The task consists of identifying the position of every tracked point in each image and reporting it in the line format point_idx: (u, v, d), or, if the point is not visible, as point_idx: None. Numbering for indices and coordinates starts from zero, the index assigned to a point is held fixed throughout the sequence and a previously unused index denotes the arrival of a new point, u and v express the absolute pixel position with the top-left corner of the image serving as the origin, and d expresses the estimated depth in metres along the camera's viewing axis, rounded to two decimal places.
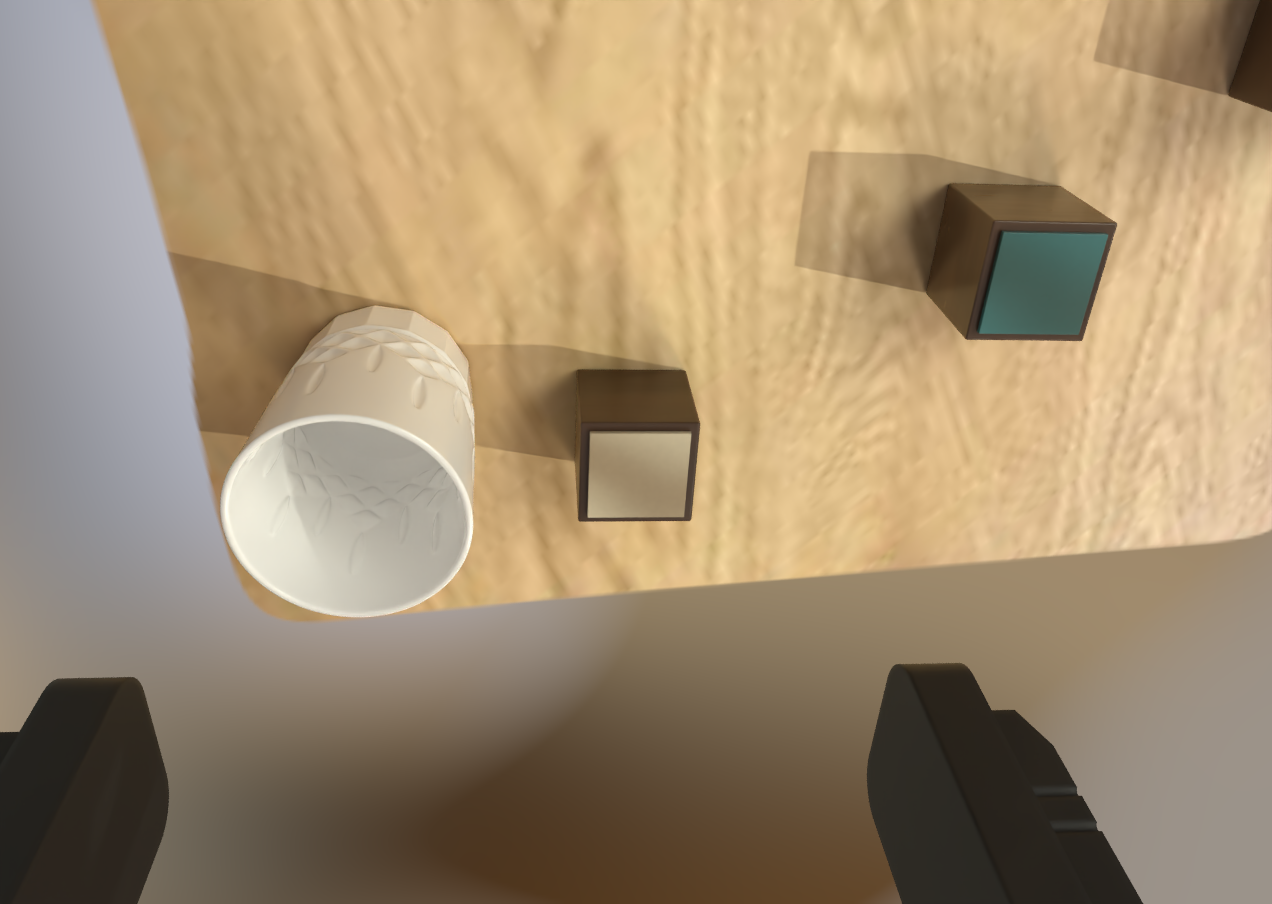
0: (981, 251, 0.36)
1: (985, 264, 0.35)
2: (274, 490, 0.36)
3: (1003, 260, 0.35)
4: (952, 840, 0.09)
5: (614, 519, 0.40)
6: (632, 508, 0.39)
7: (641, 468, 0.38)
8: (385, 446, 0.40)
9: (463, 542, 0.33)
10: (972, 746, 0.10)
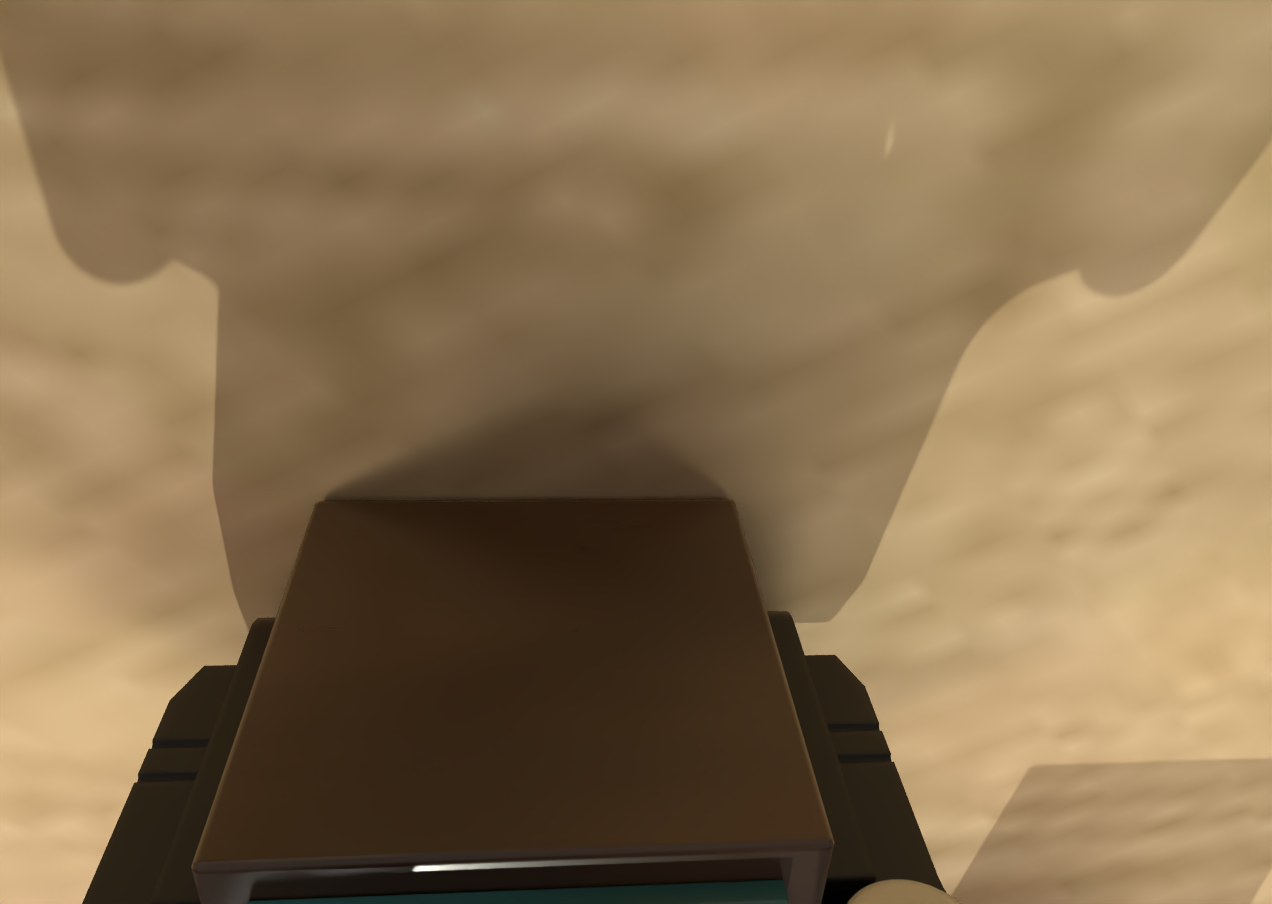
0: (660, 808, 0.07)
1: (617, 860, 0.07)
2: None
3: None
4: None
5: None
6: None
7: None
8: None
9: None
10: None
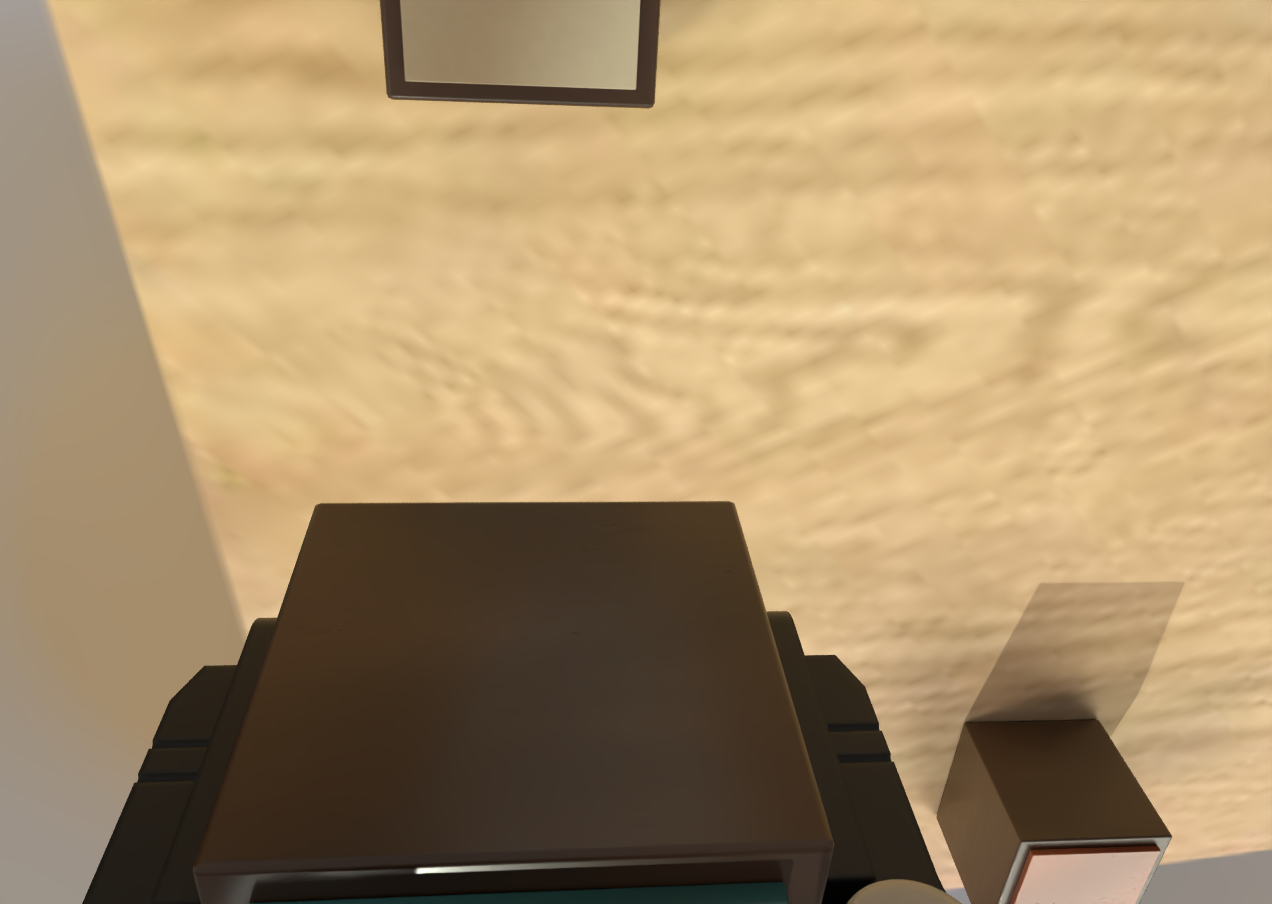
0: (660, 811, 0.07)
1: (618, 863, 0.07)
2: None
3: None
4: None
5: None
6: None
7: None
8: None
9: None
10: None
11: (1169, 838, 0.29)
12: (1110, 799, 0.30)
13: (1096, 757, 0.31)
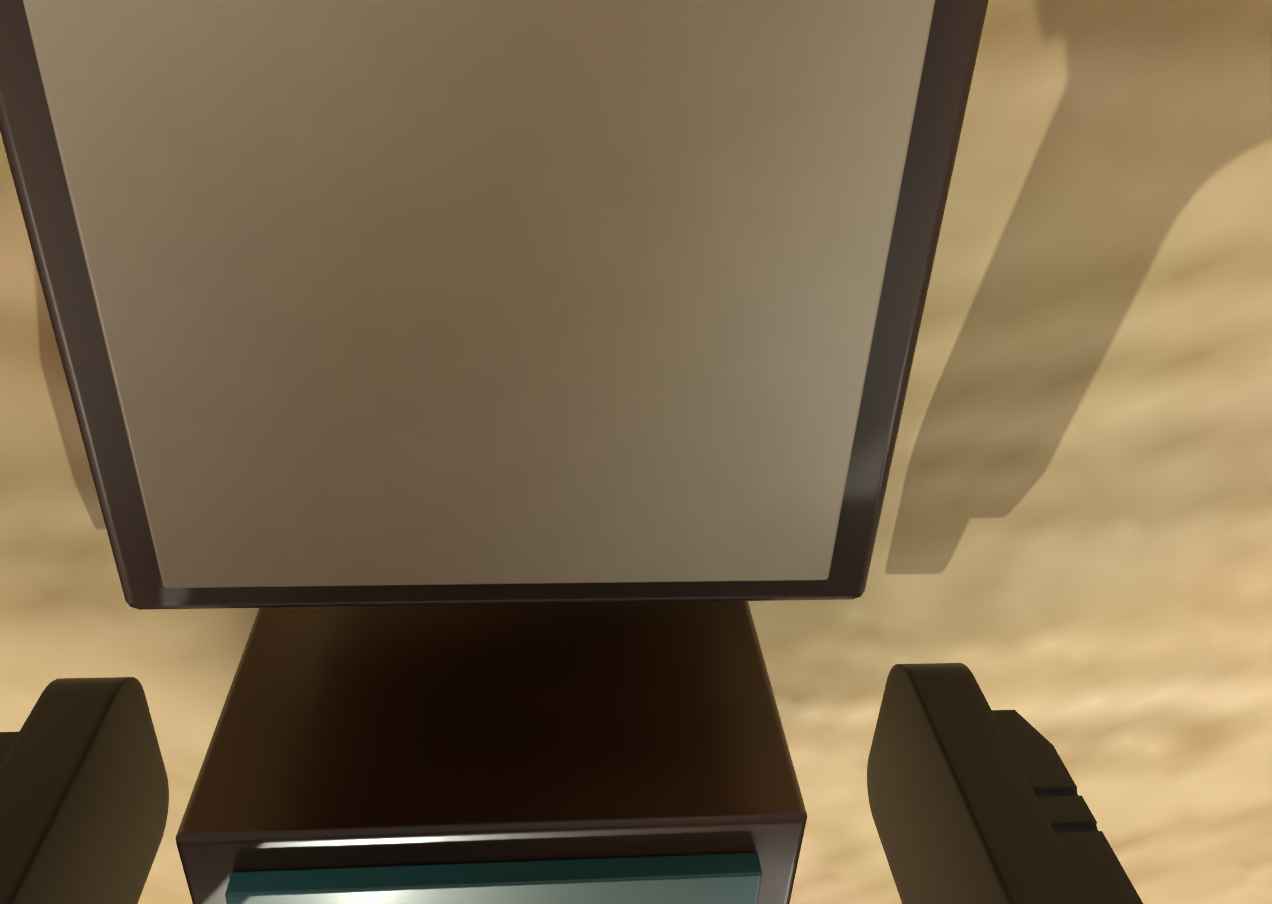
0: (636, 783, 0.08)
1: (595, 832, 0.07)
2: None
3: (626, 901, 0.07)
4: (952, 840, 0.09)
5: (5, 67, 0.04)
6: (175, 233, 0.05)
7: (576, 292, 0.05)
8: None
9: None
10: (972, 746, 0.10)
11: None
12: None
13: None
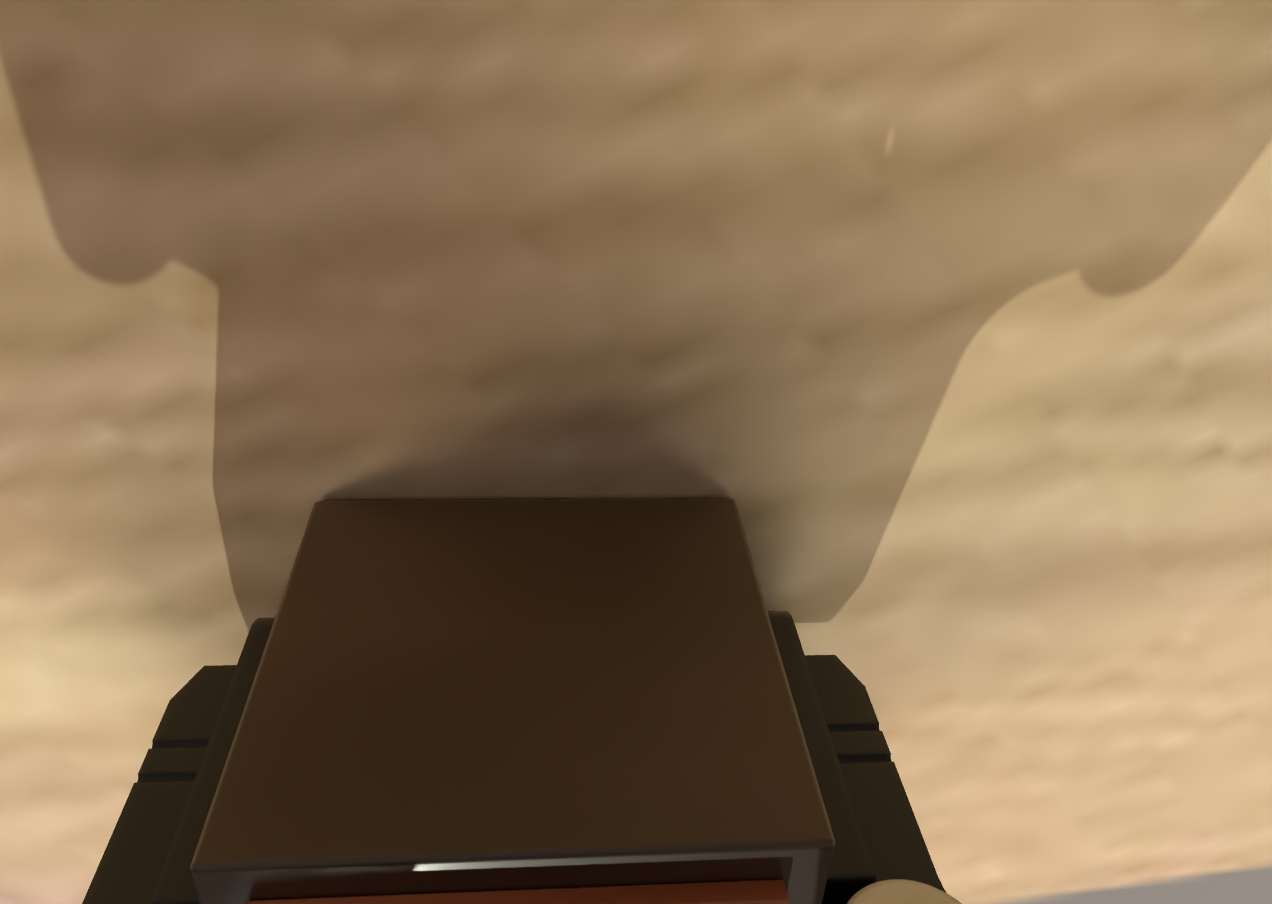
0: None
1: None
2: None
3: None
4: None
5: None
6: None
7: None
8: None
9: None
10: None
11: (832, 852, 0.07)
12: (653, 709, 0.08)
13: (671, 588, 0.10)
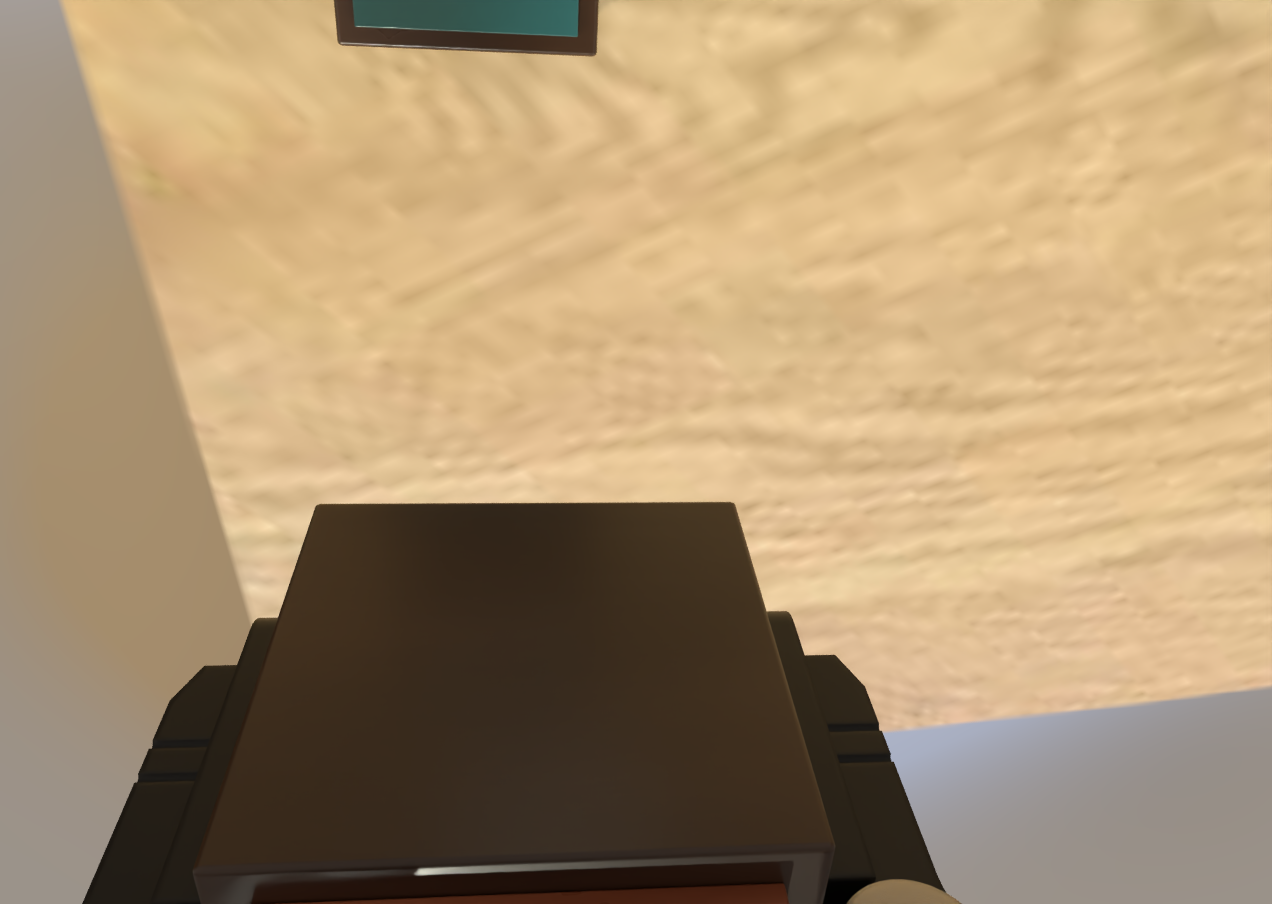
0: None
1: None
2: None
3: None
4: None
5: None
6: None
7: None
8: None
9: None
10: None
11: (832, 856, 0.07)
12: (654, 712, 0.08)
13: (672, 591, 0.10)
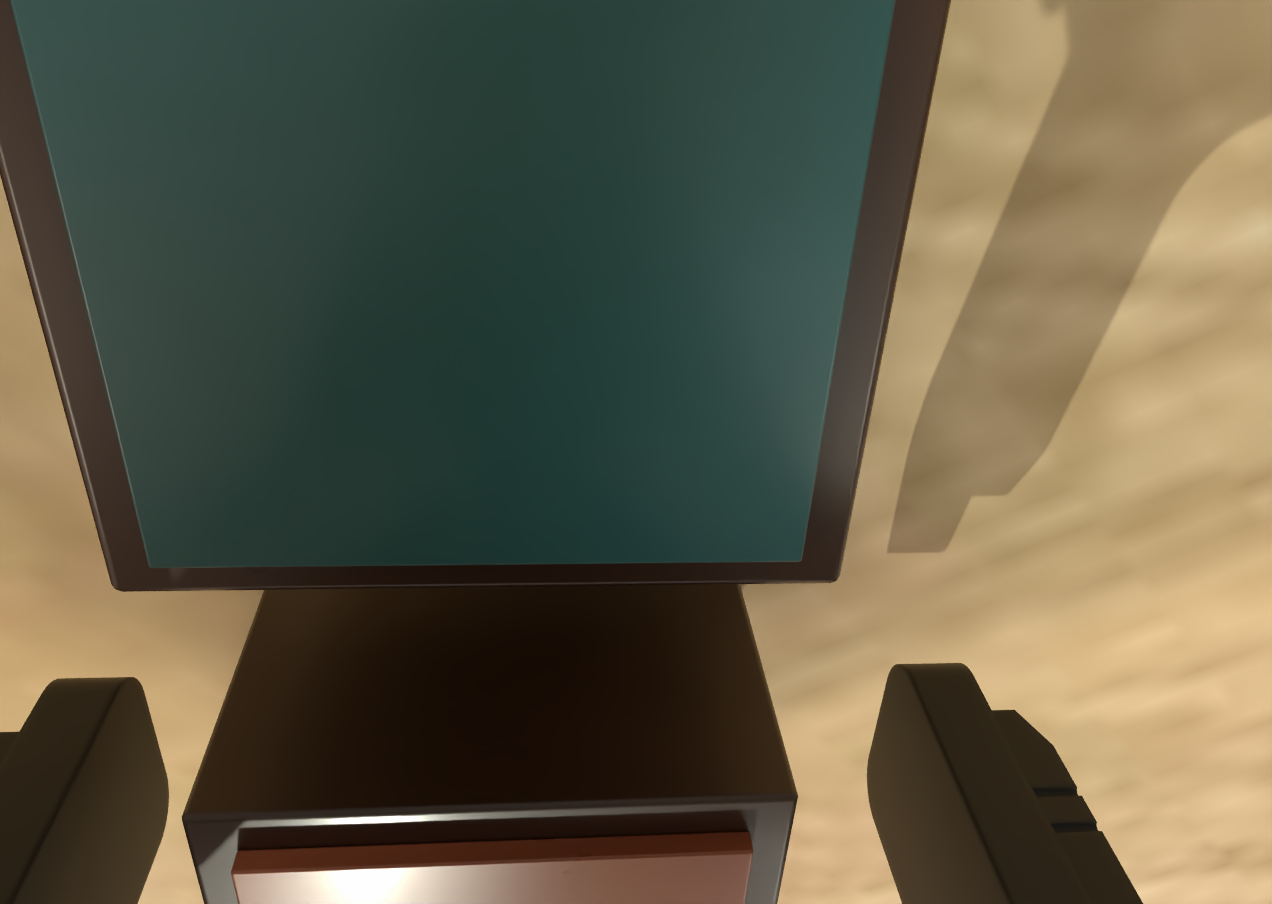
0: None
1: None
2: None
3: None
4: (952, 840, 0.09)
5: None
6: None
7: None
8: None
9: None
10: (972, 745, 0.10)
11: (794, 804, 0.08)
12: (627, 673, 0.09)
13: None
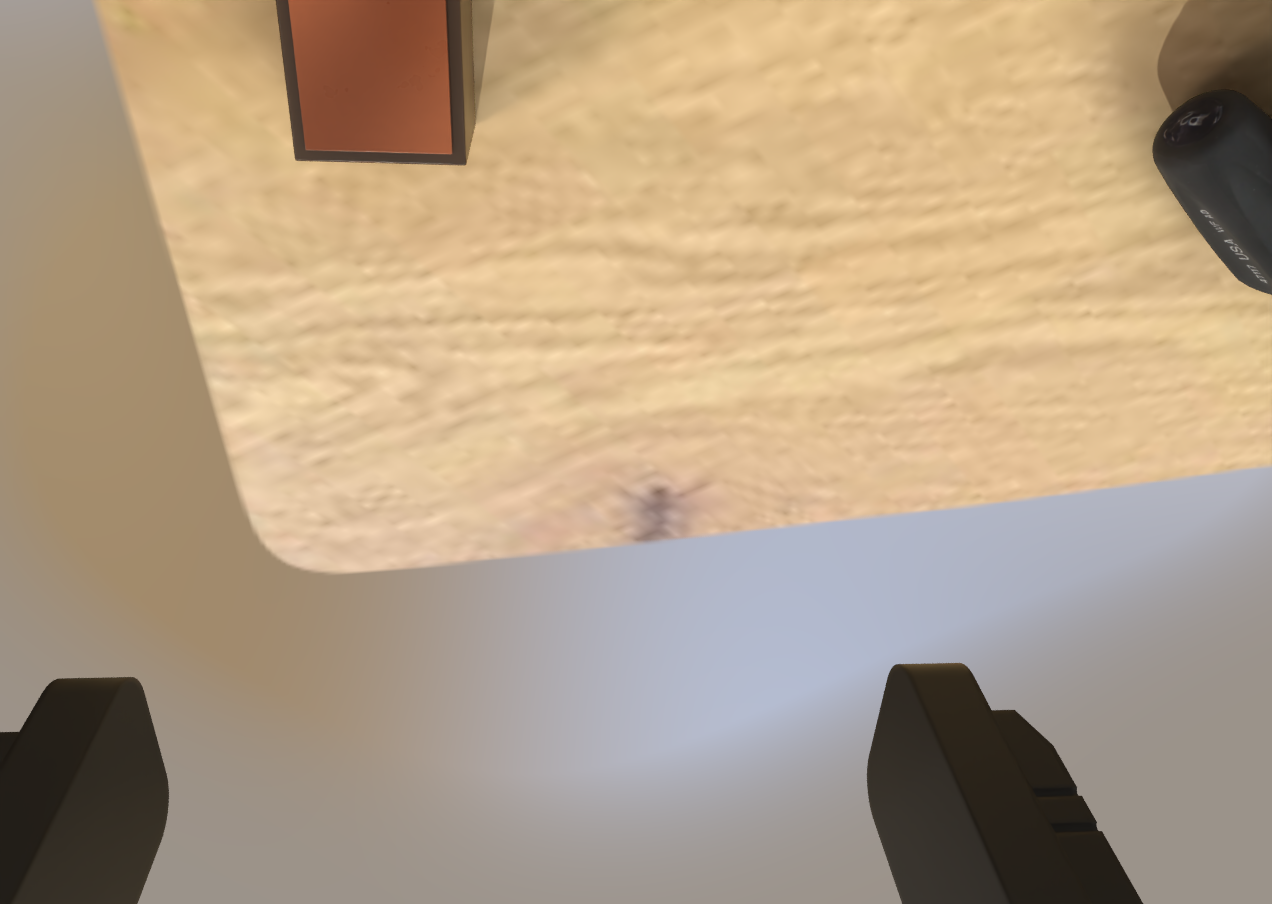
0: None
1: None
2: None
3: None
4: (951, 840, 0.09)
5: None
6: None
7: None
8: None
9: None
10: (971, 746, 0.10)
11: None
12: None
13: None
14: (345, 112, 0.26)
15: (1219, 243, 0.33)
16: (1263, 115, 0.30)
